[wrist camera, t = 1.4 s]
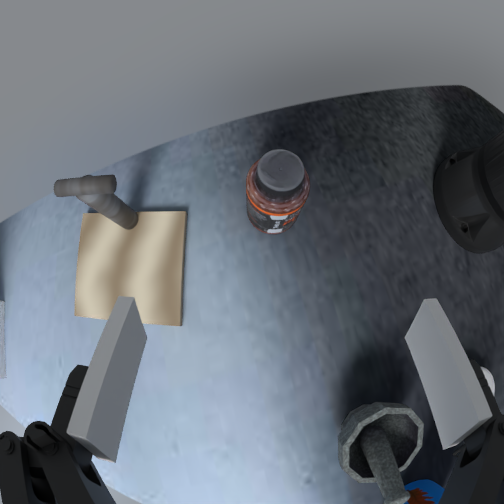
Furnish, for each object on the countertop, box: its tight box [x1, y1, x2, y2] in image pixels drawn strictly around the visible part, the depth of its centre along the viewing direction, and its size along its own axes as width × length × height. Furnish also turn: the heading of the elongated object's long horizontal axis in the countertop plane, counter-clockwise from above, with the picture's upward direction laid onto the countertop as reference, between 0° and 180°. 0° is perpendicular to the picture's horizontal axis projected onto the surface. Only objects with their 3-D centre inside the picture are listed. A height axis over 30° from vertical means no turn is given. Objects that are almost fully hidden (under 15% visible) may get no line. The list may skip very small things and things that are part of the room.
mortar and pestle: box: [338, 402, 424, 504], centre depth 25 cm, size 11×9×12 cm
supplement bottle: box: [246, 149, 310, 234], centre depth 30 cm, size 6×6×11 cm
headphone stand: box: [54, 175, 187, 326], centre depth 28 cm, size 14×13×13 cm
